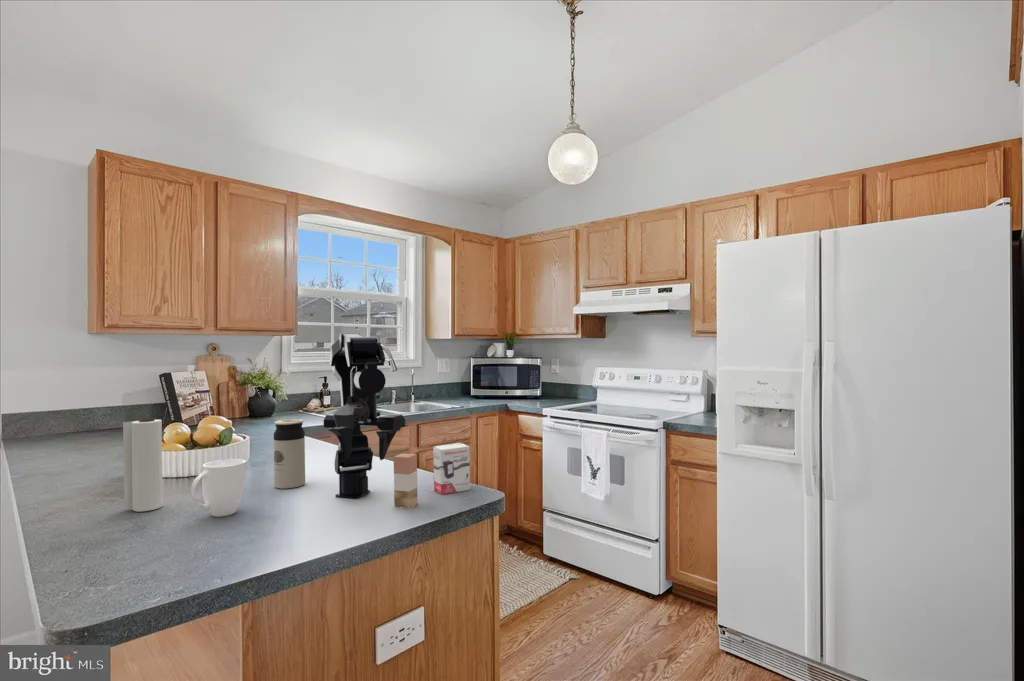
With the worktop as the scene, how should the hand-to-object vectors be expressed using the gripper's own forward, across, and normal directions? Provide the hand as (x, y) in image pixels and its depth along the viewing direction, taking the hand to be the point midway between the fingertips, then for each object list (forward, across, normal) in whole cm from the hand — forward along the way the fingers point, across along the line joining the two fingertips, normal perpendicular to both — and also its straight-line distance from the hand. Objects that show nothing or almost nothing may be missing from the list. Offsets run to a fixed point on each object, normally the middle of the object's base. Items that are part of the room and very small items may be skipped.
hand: (364, 458), depth 123 cm
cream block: (+8, +6, +8) cm, 13 cm away
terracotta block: (+4, +6, +8) cm, 11 cm away
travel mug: (+13, -35, +15) cm, 40 cm away
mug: (+13, -32, -11) cm, 36 cm away
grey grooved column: (+13, -54, -12) cm, 57 cm away
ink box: (+13, +11, +23) cm, 28 cm away
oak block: (+12, +6, +8) cm, 16 cm away
